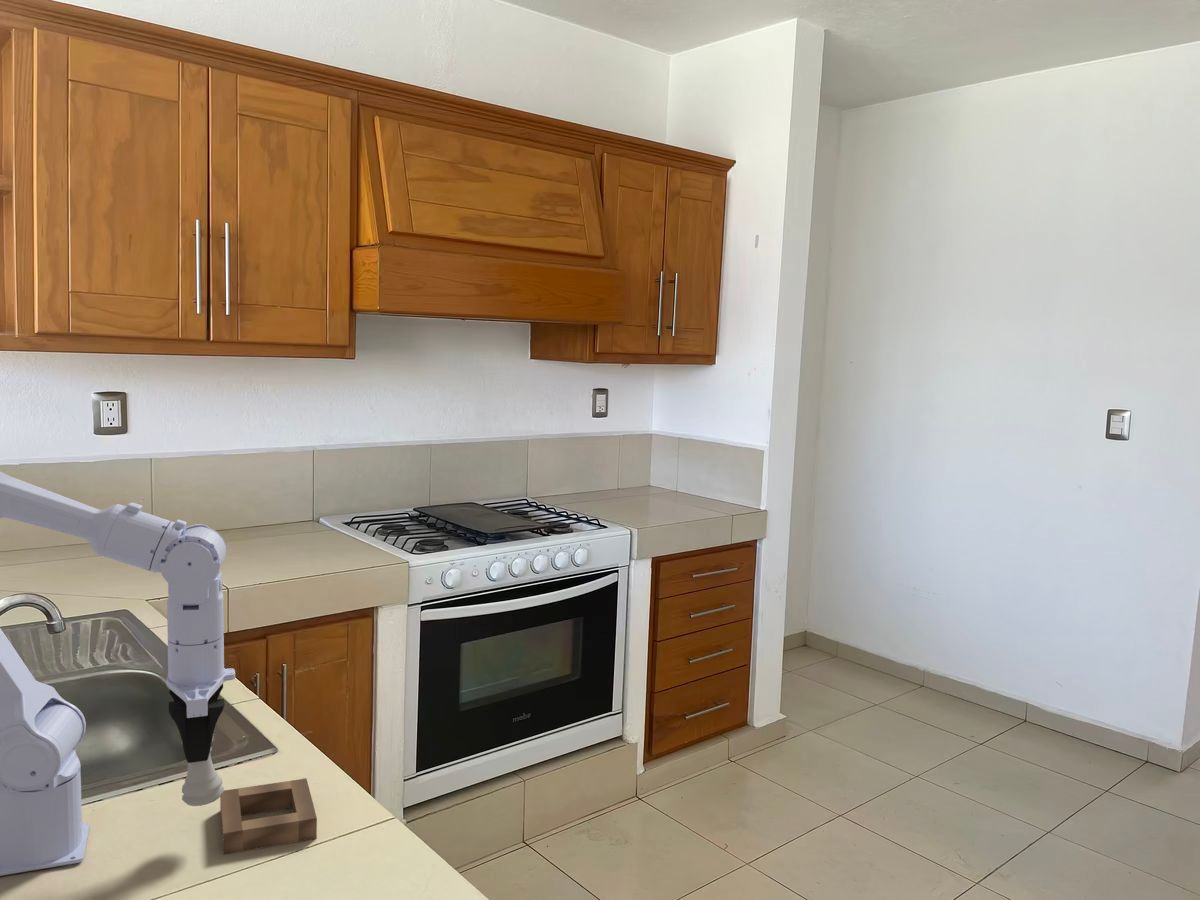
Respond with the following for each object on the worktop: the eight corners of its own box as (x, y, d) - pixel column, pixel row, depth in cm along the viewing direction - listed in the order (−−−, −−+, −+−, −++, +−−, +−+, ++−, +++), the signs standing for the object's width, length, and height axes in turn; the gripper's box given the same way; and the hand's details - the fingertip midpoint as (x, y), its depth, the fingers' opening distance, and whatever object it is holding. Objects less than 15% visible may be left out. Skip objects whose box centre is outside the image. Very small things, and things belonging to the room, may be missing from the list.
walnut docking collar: (223, 854, 103) (223, 833, 103) (220, 810, 112) (220, 791, 112) (316, 838, 107) (316, 818, 107) (306, 797, 116) (306, 778, 116)
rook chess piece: (209, 808, 102) (202, 740, 101) (173, 806, 103) (165, 739, 102) (232, 788, 107) (225, 723, 106) (197, 786, 108) (190, 721, 107)
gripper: (237, 655, 98) (238, 776, 99) (231, 614, 111) (232, 722, 112) (164, 662, 95) (166, 787, 96) (166, 619, 108) (168, 730, 110)
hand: (197, 753), depth 104 cm, fingers closed on rook chess piece, 3 cm apart
